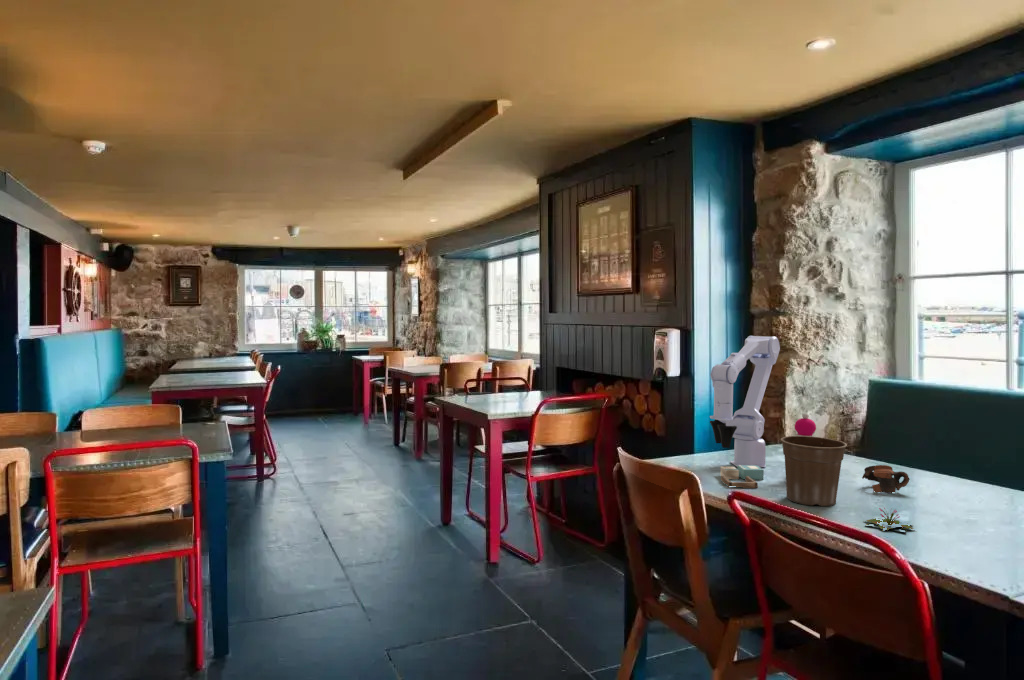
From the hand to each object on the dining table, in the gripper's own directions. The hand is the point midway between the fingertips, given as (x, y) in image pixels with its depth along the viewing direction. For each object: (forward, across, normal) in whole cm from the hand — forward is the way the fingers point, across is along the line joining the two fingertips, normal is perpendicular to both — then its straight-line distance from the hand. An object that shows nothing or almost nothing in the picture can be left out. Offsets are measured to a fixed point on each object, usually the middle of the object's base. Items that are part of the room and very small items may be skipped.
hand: (722, 445), depth 218 cm
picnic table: (+8, +16, 0) cm, 18 cm away
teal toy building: (+8, +7, +6) cm, 13 cm away
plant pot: (+9, +33, +14) cm, 37 cm away
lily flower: (+9, +55, +24) cm, 61 cm away
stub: (+9, +8, 0) cm, 12 cm away
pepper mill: (+9, +8, +22) cm, 25 cm away
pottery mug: (+9, +21, +40) cm, 46 cm away
